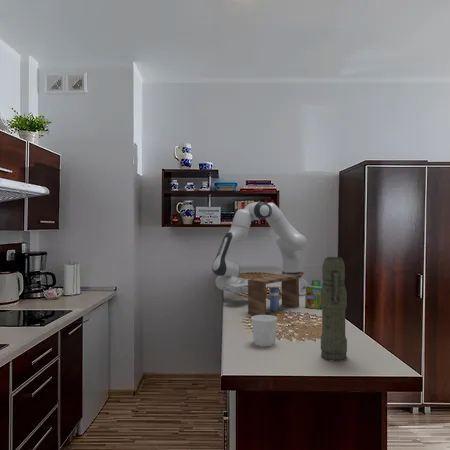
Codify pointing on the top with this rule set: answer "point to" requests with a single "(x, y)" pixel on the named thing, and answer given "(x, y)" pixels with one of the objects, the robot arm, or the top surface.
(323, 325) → the thermos
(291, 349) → the top surface
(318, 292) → the chalk box
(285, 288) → the riser
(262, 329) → the cup
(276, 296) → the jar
